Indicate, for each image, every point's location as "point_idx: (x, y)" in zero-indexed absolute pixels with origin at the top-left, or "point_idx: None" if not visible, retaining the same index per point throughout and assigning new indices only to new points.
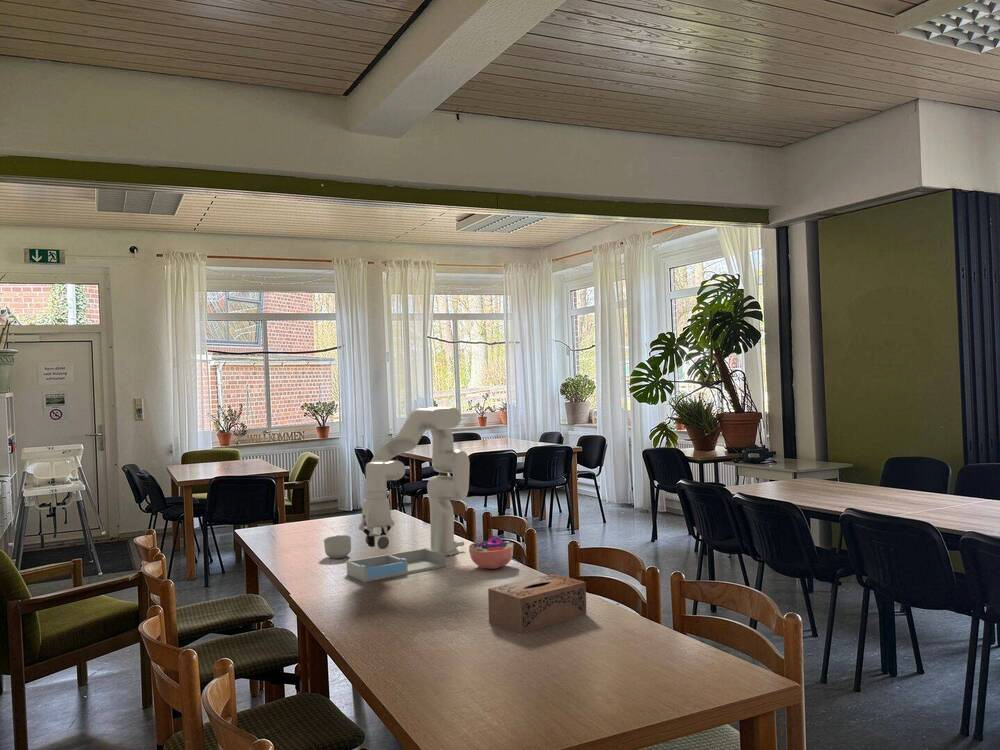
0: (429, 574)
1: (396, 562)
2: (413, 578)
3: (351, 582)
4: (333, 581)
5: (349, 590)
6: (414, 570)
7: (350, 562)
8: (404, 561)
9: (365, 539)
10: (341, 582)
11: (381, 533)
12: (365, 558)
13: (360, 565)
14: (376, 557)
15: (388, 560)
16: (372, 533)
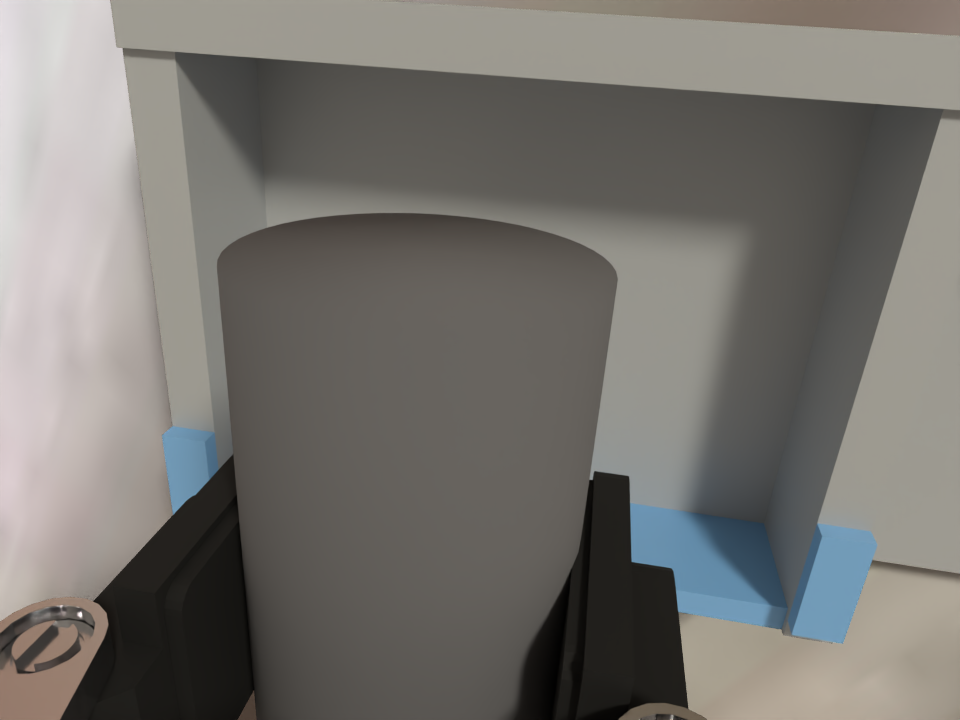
0: (930, 697)
1: (832, 392)
2: (696, 682)
3: (153, 362)
4: (4, 182)
5: (60, 559)
6: (900, 559)
7: (147, 93)
8: (784, 629)
9: (235, 244)
10: (67, 286)
11: (584, 715)
12: (454, 42)
13: (167, 449)
14: (673, 88)
15: (905, 118)
16: (370, 455)
